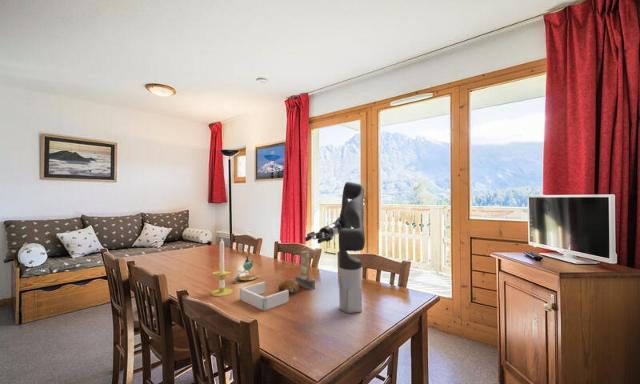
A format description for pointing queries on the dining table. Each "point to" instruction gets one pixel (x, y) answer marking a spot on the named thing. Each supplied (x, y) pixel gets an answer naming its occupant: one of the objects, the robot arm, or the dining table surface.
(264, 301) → the box
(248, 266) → the frog figurine
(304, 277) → the scraper
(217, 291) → the candle
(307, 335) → the dining table surface
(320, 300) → the dining table surface
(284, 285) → the bread roll
